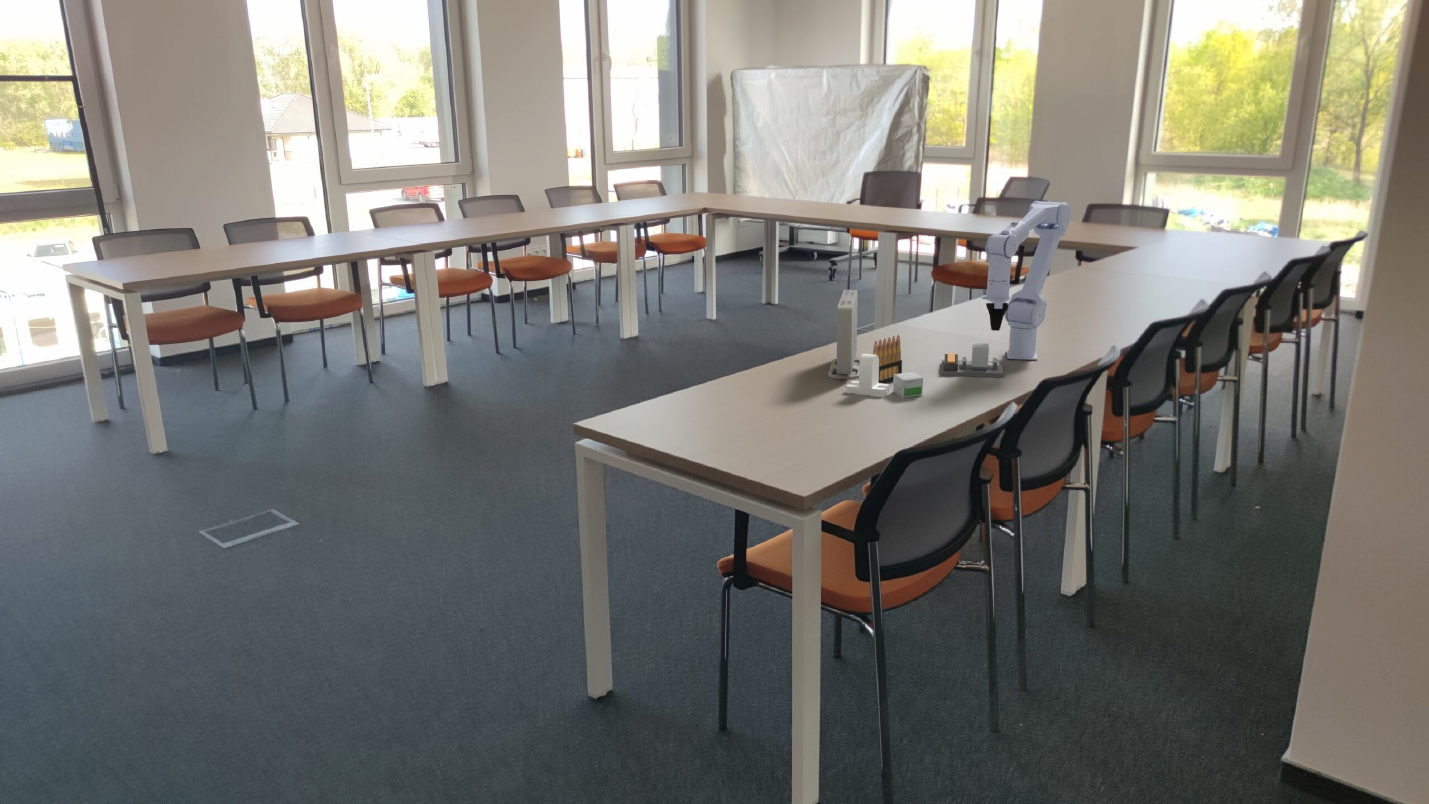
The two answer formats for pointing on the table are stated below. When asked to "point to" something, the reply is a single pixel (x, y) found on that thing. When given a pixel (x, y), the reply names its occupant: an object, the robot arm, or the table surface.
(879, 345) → the ammunition clip
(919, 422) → the table surface
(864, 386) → the cable organizer
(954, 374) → the mounting board
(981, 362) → the block
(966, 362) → the gray slotted fixture
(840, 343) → the network device
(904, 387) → the small box
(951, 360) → the locking tab
